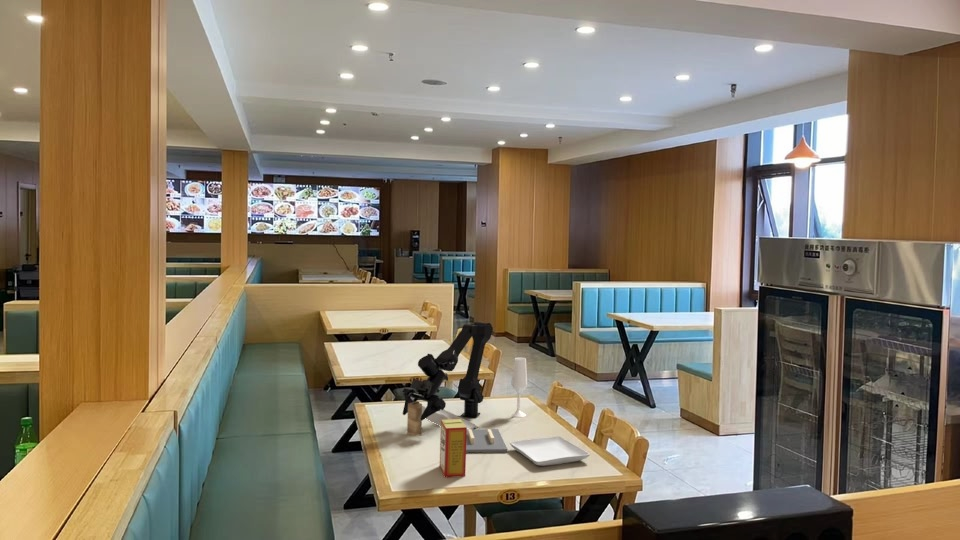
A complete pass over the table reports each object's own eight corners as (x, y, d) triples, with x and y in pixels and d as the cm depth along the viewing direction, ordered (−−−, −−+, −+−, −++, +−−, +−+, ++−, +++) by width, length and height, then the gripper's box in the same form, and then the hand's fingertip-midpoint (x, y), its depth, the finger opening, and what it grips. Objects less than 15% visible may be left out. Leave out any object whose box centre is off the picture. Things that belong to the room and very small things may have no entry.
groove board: (456, 432, 245) (456, 424, 245) (497, 432, 247) (498, 424, 247) (461, 453, 224) (462, 444, 223) (507, 452, 226) (507, 443, 225)
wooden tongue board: (413, 431, 245) (414, 400, 244) (421, 433, 242) (422, 402, 242) (407, 433, 242) (407, 402, 241) (414, 436, 240) (415, 404, 239)
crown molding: (477, 430, 251) (477, 420, 251) (451, 435, 245) (451, 425, 244) (435, 409, 277) (435, 401, 277) (411, 413, 270) (411, 405, 270)
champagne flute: (510, 411, 275) (513, 356, 273) (526, 413, 274) (528, 357, 272) (509, 416, 268) (511, 359, 267) (525, 417, 267) (527, 360, 266)
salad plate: (507, 450, 229) (508, 440, 229) (559, 443, 238) (559, 434, 237) (535, 471, 210) (536, 461, 210) (591, 464, 218) (591, 454, 218)
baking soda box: (465, 476, 203) (466, 426, 202) (444, 477, 202) (446, 427, 200) (459, 465, 212) (460, 417, 211) (439, 466, 211) (441, 418, 210)
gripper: (405, 366, 250) (384, 400, 242) (441, 375, 238) (419, 410, 230) (419, 383, 256) (398, 416, 248) (454, 392, 245) (434, 427, 237)
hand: (412, 417), depth 241 cm, fingers open, 9 cm apart
